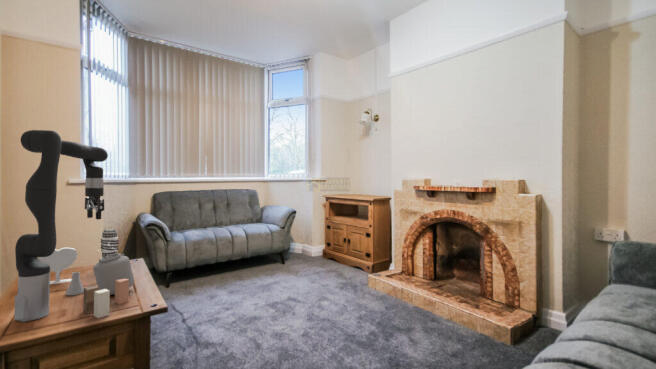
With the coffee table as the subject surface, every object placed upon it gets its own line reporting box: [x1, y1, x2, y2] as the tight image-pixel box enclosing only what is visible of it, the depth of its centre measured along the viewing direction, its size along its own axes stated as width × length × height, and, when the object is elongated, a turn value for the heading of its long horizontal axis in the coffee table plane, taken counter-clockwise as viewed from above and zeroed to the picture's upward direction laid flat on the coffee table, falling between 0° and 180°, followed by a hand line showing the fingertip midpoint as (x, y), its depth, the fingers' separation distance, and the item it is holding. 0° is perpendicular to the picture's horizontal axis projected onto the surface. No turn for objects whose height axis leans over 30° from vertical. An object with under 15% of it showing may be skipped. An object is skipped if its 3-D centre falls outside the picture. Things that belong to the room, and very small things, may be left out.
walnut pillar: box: [82, 285, 99, 315], centre depth 129 cm, size 4×4×10 cm
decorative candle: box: [100, 228, 120, 258], centre depth 188 cm, size 9×9×25 cm
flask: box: [64, 271, 85, 296], centre depth 149 cm, size 7×7×10 cm
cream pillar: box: [93, 289, 111, 319], centre depth 126 cm, size 4×4×10 cm
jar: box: [92, 244, 135, 296], centre depth 151 cm, size 19×15×25 cm
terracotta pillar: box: [114, 278, 130, 305], centre depth 140 cm, size 4×4×10 cm
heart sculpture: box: [38, 246, 78, 285], centre depth 164 cm, size 16×5×18 cm, turn 134°
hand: (94, 218), depth 156 cm, fingers open, 8 cm apart
